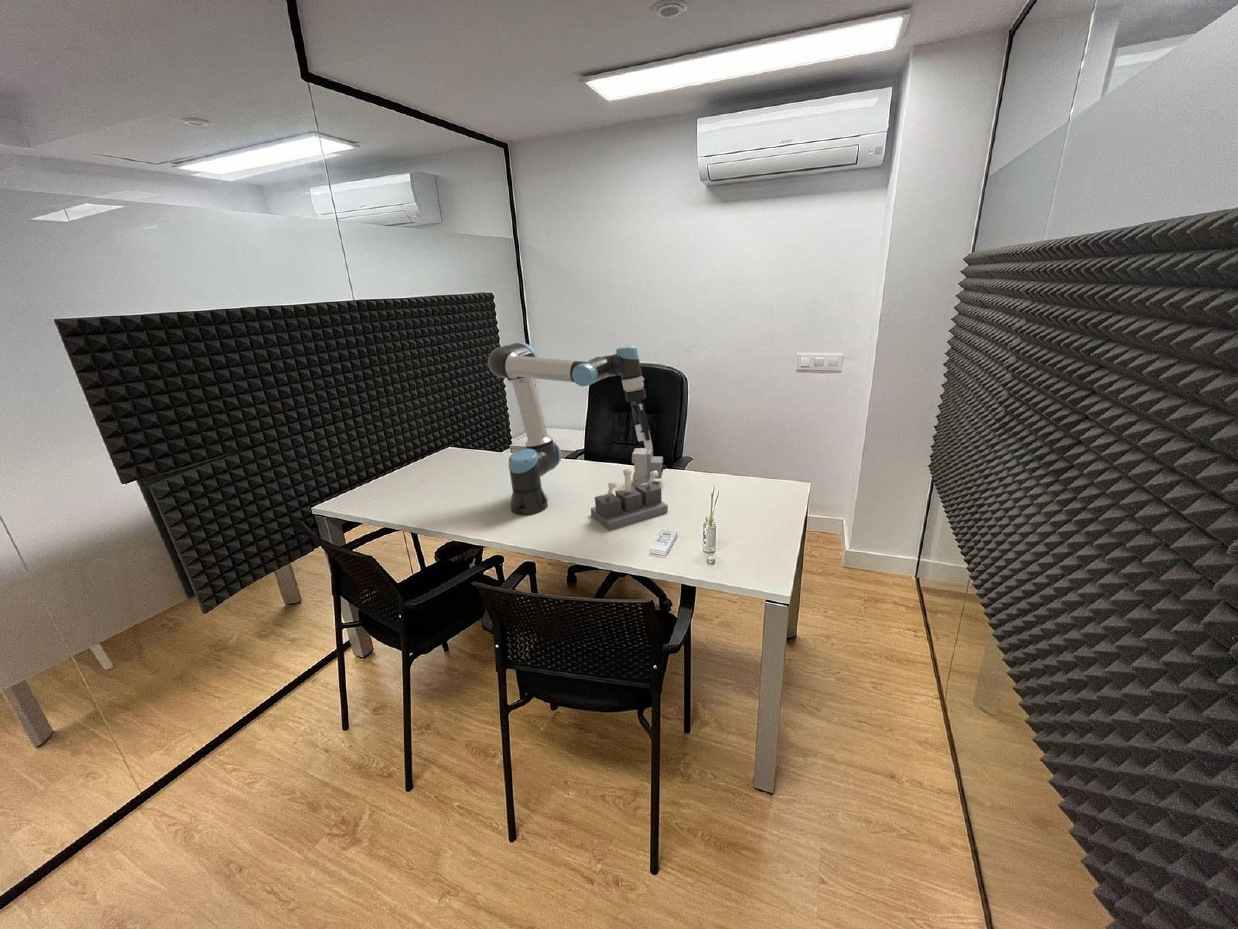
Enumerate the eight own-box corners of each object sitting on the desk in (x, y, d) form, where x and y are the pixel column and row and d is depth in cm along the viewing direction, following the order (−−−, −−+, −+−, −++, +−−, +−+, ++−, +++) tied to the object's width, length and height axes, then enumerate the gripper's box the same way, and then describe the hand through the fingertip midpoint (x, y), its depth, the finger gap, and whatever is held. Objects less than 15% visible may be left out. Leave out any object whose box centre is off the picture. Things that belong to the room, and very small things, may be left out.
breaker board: (591, 515, 189) (588, 474, 183) (647, 498, 201) (646, 460, 194) (609, 530, 177) (606, 487, 171) (667, 512, 188) (667, 471, 182)
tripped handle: (624, 491, 186) (623, 469, 182) (629, 489, 187) (628, 467, 183) (627, 493, 184) (625, 471, 181) (632, 491, 185) (631, 469, 182)
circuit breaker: (665, 486, 211) (664, 454, 206) (633, 485, 214) (631, 453, 209) (666, 480, 218) (666, 448, 213) (635, 479, 221) (634, 448, 216)
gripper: (651, 390, 164) (662, 449, 170) (637, 383, 188) (647, 435, 194) (630, 395, 163) (642, 454, 169) (619, 387, 187) (629, 439, 193)
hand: (645, 444), depth 182 cm, fingers open, 13 cm apart
